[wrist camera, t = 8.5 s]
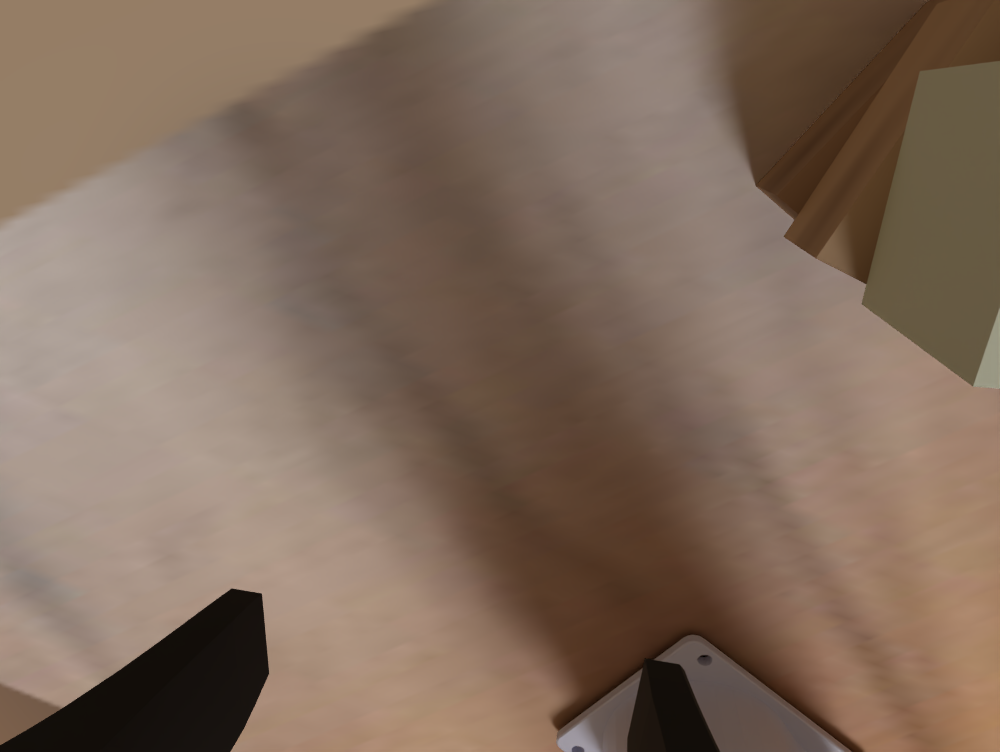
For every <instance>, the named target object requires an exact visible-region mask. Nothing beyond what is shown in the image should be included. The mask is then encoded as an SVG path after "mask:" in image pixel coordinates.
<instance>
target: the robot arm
mask: <svg viewBox="0 0 1000 752" xmlns="http://www.w3.org/2000/svg"><path fill="white" fill-rule="evenodd" d="M701 655H708V656H707V657H700V656H701ZM268 674H269V667H268V656H267V645H266V634H265V623H264V612H263V601H262V594H261V593H255V592H249V591H243V590H237V589H230V590H229V591H228V592H226V593H225V594H224V595H222V596H221V597H219V598H218V599H217V600H215V601H214V602H212V603H211V604H210V605H208V606H207V607H206V608H204V609H203V610H202V611H200V612H199V613H198V614H196V615H195V616H193V617H192V618H191V619H189V620H188V621H187V622H185V623H184V624H183V625H181V626H180V627H179V628H177V629H176V630H175V631H173V632H172V633H171V634H169V635H168V636H166V637H165V638H164V639H162V640H161V641H160V642H158V643H157V644H155V645H154V646H153V647H151V648H150V649H149V650H147V651H146V652H144V653H143V654H142V655H140V656H139V657H137V658H136V659H135V660H133V661H132V662H130V663H129V664H128V665H126V666H125V667H123V668H122V669H121V670H119V671H118V672H116V673H115V674H113V675H112V676H110V677H109V678H107V679H106V680H104V681H103V682H101V683H100V684H98V685H97V686H95V687H94V688H92V689H91V690H89V691H88V692H86V693H85V694H83V695H82V696H80V697H79V698H77V699H76V700H74V701H73V702H71V703H70V704H68V705H67V706H65V707H64V708H62V709H60V710H59V711H57V712H56V713H54V714H53V715H51V716H49V717H48V718H46V719H44V720H43V721H41V722H39V723H38V724H36V725H34V726H33V727H31V728H29V729H28V730H26V731H24V732H23V733H21V734H19V735H17V736H16V737H14V738H12V739H10V740H9V741H7V742H5V743H4V744H2V745H0V752H230V751H231V750H232V748H233V746H234V745H235V743H236V741H237V739H238V738H239V736H240V734H241V733H242V731H243V729H244V727H245V725H246V723H247V721H248V719H249V717H250V715H251V712H252V710H253V708H254V706H255V704H256V702H257V699H258V697H259V695H260V693H261V690H262V688H263V686H264V684H265V681H266V679H267V677H268ZM556 743H557V745H558V747H559V748H560V749H562V750H563V751H565V752H852V751H850V750H849V749H848V748H846V747H845V746H844V745H843V744H841V743H840V742H839V741H837V740H836V739H835V738H833V737H832V736H831V735H829V734H828V733H827V732H826V731H824V730H823V729H822V728H820V727H819V726H818V725H816V724H815V723H814V722H813V721H811V720H810V719H809V718H807V717H806V716H805V715H803V714H802V713H801V712H799V711H798V710H797V709H796V708H794V707H793V706H792V705H790V704H789V703H788V702H786V701H785V700H784V699H782V698H781V697H780V696H779V695H777V694H776V693H775V692H773V691H772V690H771V689H769V688H768V687H767V686H765V685H764V684H763V683H762V682H760V681H759V680H758V679H756V678H755V677H754V676H752V675H751V674H750V673H748V672H747V671H746V670H745V669H743V668H742V667H741V666H739V665H738V664H737V663H735V662H734V661H733V660H732V659H730V658H729V657H728V656H726V655H725V654H724V653H722V652H721V651H720V650H718V649H717V648H716V647H715V646H713V645H712V644H711V643H709V642H708V641H707V640H705V639H704V638H702V637H701V636H698V635H688V636H686V637H684V638H682V639H681V640H680V641H678V642H677V643H675V644H674V645H673V646H671V647H670V648H669V649H667V650H666V651H665V652H663V653H662V654H661V655H659V656H658V657H657V658H655V659H654V660H651V659H646V658H645V660H644V665H643V668H642V669H641V670H639V671H638V672H637V673H635V674H634V675H633V676H631V677H630V678H628V679H627V680H626V681H624V682H623V683H622V684H620V685H619V686H618V687H616V688H615V689H614V690H612V691H611V692H610V693H608V694H607V695H606V696H604V697H603V698H602V699H600V700H599V701H598V702H596V703H595V704H594V705H592V706H591V707H590V708H588V709H587V710H585V711H584V712H583V713H581V714H580V715H579V716H577V717H576V718H575V719H573V720H572V721H571V722H569V723H568V724H567V725H565V726H564V727H563V728H561V729H560V730H559V731H558V732H557V741H556Z"/></svg>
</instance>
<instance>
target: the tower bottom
mask: <svg viewBox="0 0 1000 752" xmlns="http://www.w3.org/2000/svg"><path fill="white" fill-rule="evenodd" d="M944 1H947V0H931V1H928V2H926V3H925V5H924V6H923V7H922V8H921V9H920V10H919V11H918V12H917V13H916V14H915V15H914V16H913V17H912V19H911V20H910V21H909V22H908V23H907V24H906V25H905V26H904V27H903V28H902V29H901V30H900V31H899V32H898V34H897V35H896V36H895V37H894V38H893V39H892V40H891V41H890V42H889V43H888V44H887V45H886V46H885V48H884V49H883V50H882V51H881V52H880V53H879V54H878V55H877V56H876V57H875V58H874V59H873V60H872V61H871V63H870V64H869V65H868V66H867V67H866V68H865V69H864V70H863V71H862V72H861V73H860V74H859V75H858V77H857V78H856V79H855V80H854V81H853V82H852V83H851V84H850V85H849V86H848V87H847V88H846V89H845V90H844V92H843V93H842V94H841V95H840V96H839V97H838V98H837V99H836V100H835V101H834V102H833V103H832V104H831V106H830V107H829V108H828V109H827V110H826V111H825V112H824V113H823V114H822V115H821V116H820V117H819V118H818V119H817V121H816V122H815V123H814V124H813V125H812V126H811V127H810V128H809V129H808V130H807V131H806V132H805V133H804V134H803V136H802V137H801V138H800V139H799V140H798V141H797V142H796V143H795V144H794V145H793V146H792V147H791V148H790V150H789V151H788V152H787V153H786V154H785V155H784V156H783V157H782V158H781V159H780V160H779V161H778V162H777V163H776V165H775V166H774V167H773V168H772V169H771V170H770V171H769V172H768V173H767V174H766V175H765V176H764V177H763V179H762V180H761V181H760V182H759V183H758V184H757V185H756V186H757V187H758V188H759V189H760V190H761V191H762V192H763V193H765V194H766V195H767V196H768V197H769V198H770V199H771V200H773V201H774V202H775V203H776V204H777V205H778V206H779V207H781V208H782V209H783V210H784V211H785V212H786V213H787V214H788V215H790V216H791V217H792V218H793V219H794V220H795V219H796V217H797V216H798V214H799V213H800V211H801V210H802V208H803V207H804V205H805V204H806V202H807V201H808V199H809V198H810V196H811V194H812V193H813V191H814V190H815V188H816V187H817V185H818V184H819V182H820V181H821V179H822V178H823V176H824V175H825V173H826V172H827V170H828V169H829V167H830V166H831V164H832V163H833V161H834V160H835V158H836V156H837V155H838V153H839V152H840V150H841V149H842V147H843V146H844V144H845V143H846V141H847V140H848V138H849V137H850V135H851V134H852V132H853V131H854V129H855V128H856V126H857V125H858V123H859V122H860V120H861V119H862V117H863V115H864V114H865V112H866V111H867V109H868V108H869V106H870V105H871V103H872V102H873V100H874V99H875V97H876V96H877V94H878V93H879V91H880V90H881V88H882V87H883V85H884V84H885V82H886V81H887V79H888V77H889V76H890V74H891V73H892V71H893V70H894V68H895V67H896V65H897V64H898V62H899V61H900V59H901V58H902V56H903V55H904V53H905V52H906V50H907V49H908V47H909V46H910V44H911V43H912V41H913V40H914V38H915V36H916V35H917V33H918V32H919V30H920V29H921V27H922V26H923V24H924V23H925V21H926V20H927V18H928V17H929V15H930V14H931V12H932V11H933V9H934V8H935V6H936V5H937V4H938V3H941V2H944Z"/></svg>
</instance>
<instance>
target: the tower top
mask: <svg viewBox="0 0 1000 752" xmlns="http://www.w3.org/2000/svg"><path fill="white" fill-rule="evenodd" d="M995 61H1000V0H947V1H944V2H941V3H938V4H937V5H936V6H935V8H934V9H933V11H932V12H931V14H930V15H929V17H928V18H927V20H926V21H925V23H924V24H923V26H922V27H921V29H920V30H919V32H918V33H917V35H916V36H915V38H914V40H913V41H912V43H911V44H910V46H909V47H908V49H907V50H906V52H905V53H904V55H903V56H902V58H901V59H900V61H899V62H898V64H897V65H896V67H895V68H894V70H893V71H892V73H891V74H890V76H889V77H888V79H887V81H886V82H885V84H884V85H883V87H882V88H881V90H880V91H879V93H878V94H877V96H876V97H875V99H874V100H873V102H872V103H871V105H870V106H869V108H868V109H867V111H866V112H865V114H864V115H863V117H862V119H861V120H860V122H859V123H858V125H857V126H856V128H855V129H854V131H853V132H852V134H851V135H850V137H849V138H848V140H847V141H846V143H845V144H844V146H843V147H842V149H841V150H840V152H839V153H838V155H837V156H836V158H835V160H834V161H833V163H832V164H831V166H830V167H829V169H828V170H827V172H826V173H825V175H824V176H823V178H822V179H821V181H820V182H819V184H818V185H817V187H816V188H815V190H814V191H813V193H812V194H811V196H810V198H809V199H808V201H807V202H806V204H805V205H804V207H803V208H802V210H801V211H800V213H799V214H798V216H797V217H796V219H795V220H794V222H793V223H792V225H791V226H790V228H789V229H788V231H787V232H786V234H785V235H784V237H785V238H786V239H788V240H789V241H791V242H792V243H794V244H795V245H797V246H798V247H800V248H801V249H803V250H804V251H806V252H807V253H809V254H810V255H812V256H813V257H815V258H816V259H818V260H820V261H822V262H824V263H826V264H828V265H830V266H832V267H834V268H836V269H838V270H840V271H842V272H844V273H846V274H848V275H850V276H852V277H853V278H855V279H857V280H859V281H861V282H863V283H865V284H867V280H868V276H869V272H870V268H871V264H872V260H873V256H874V252H875V248H876V244H877V240H878V236H879V232H880V228H881V224H882V220H883V216H884V212H885V208H886V204H887V200H888V196H889V192H890V188H891V184H892V180H893V176H894V172H895V168H896V164H897V160H898V156H899V152H900V148H901V144H902V140H903V136H904V132H905V128H906V124H907V120H908V116H909V112H910V108H911V104H912V100H913V96H914V92H915V88H916V84H917V80H918V76H919V72H920V71H925V70H933V69H941V68H948V67H956V66H964V65H972V64H979V63H987V62H995Z"/></svg>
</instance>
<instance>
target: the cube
mask: <svg viewBox="0 0 1000 752" xmlns="http://www.w3.org/2000/svg"><path fill="white" fill-rule="evenodd" d="M862 305H864V306H865V307H866V308H868V309H869V310H870V311H872V312H873V313H874V314H876V315H877V316H878V317H880V318H881V319H883V320H884V321H885V322H887V323H888V324H889V325H891V326H892V327H893V328H895V329H896V330H897V331H899V332H900V333H901V334H903V335H904V336H905V337H907V338H908V339H910V340H911V341H912V342H914V343H915V344H916V345H918V346H919V347H920V348H922V349H923V350H924V351H926V352H927V353H928V354H930V355H931V356H932V357H934V358H935V359H937V360H938V361H939V362H941V363H942V364H943V365H945V366H946V367H947V368H949V369H950V370H951V371H953V372H954V373H955V374H957V375H958V376H959V377H961V378H962V379H964V380H965V381H966V382H968V383H969V384H970V385H972V386H973V387H985V388H999V389H1000V61H995V62H987V63H979V64H972V65H964V66H956V67H948V68H941V69H933V70H925V71H920V72H919V76H918V80H917V84H916V88H915V92H914V96H913V100H912V104H911V108H910V112H909V116H908V120H907V124H906V128H905V132H904V136H903V140H902V144H901V148H900V152H899V156H898V160H897V164H896V168H895V172H894V176H893V180H892V184H891V188H890V192H889V196H888V200H887V204H886V208H885V212H884V216H883V220H882V224H881V228H880V232H879V236H878V240H877V244H876V248H875V252H874V256H873V260H872V264H871V268H870V272H869V276H868V280H867V284H866V288H865V292H864V296H863V300H862Z"/></svg>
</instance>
